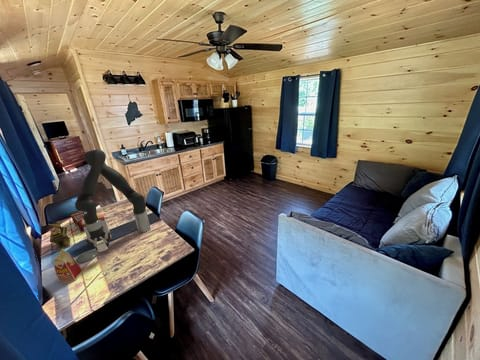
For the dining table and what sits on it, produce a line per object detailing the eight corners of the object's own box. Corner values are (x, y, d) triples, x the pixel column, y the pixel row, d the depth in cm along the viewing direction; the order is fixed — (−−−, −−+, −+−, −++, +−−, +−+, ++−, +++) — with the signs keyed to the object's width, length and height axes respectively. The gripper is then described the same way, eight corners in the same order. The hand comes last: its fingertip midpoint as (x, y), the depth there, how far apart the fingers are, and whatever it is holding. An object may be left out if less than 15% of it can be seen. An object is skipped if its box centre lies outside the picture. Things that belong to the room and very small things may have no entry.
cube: (107, 245, 140) (105, 239, 138) (107, 249, 136) (105, 243, 134) (99, 247, 138) (96, 242, 136) (98, 252, 134) (96, 246, 132)
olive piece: (56, 241, 159) (46, 220, 151) (71, 236, 164) (62, 215, 157) (54, 255, 144) (42, 232, 136) (71, 249, 149) (61, 227, 142)
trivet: (98, 248, 149) (98, 247, 149) (97, 258, 139) (96, 257, 139) (78, 254, 144) (78, 253, 144) (75, 265, 134) (75, 264, 134)
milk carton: (68, 272, 129) (56, 247, 121) (83, 270, 129) (72, 245, 122) (57, 284, 120) (44, 257, 113) (74, 282, 121) (61, 256, 113)
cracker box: (90, 246, 151) (81, 223, 143) (90, 242, 156) (81, 219, 148) (111, 239, 158) (104, 216, 150) (111, 235, 163) (103, 213, 155)
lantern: (91, 218, 170) (80, 208, 188) (78, 223, 163) (68, 212, 181) (95, 228, 174) (84, 217, 192) (82, 233, 167) (72, 222, 185)
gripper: (107, 220, 136) (115, 241, 143) (82, 228, 130) (91, 248, 137) (107, 226, 130) (115, 247, 137) (80, 234, 124) (90, 255, 131)
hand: (103, 247), depth 137 cm, fingers closed on cube, 5 cm apart
